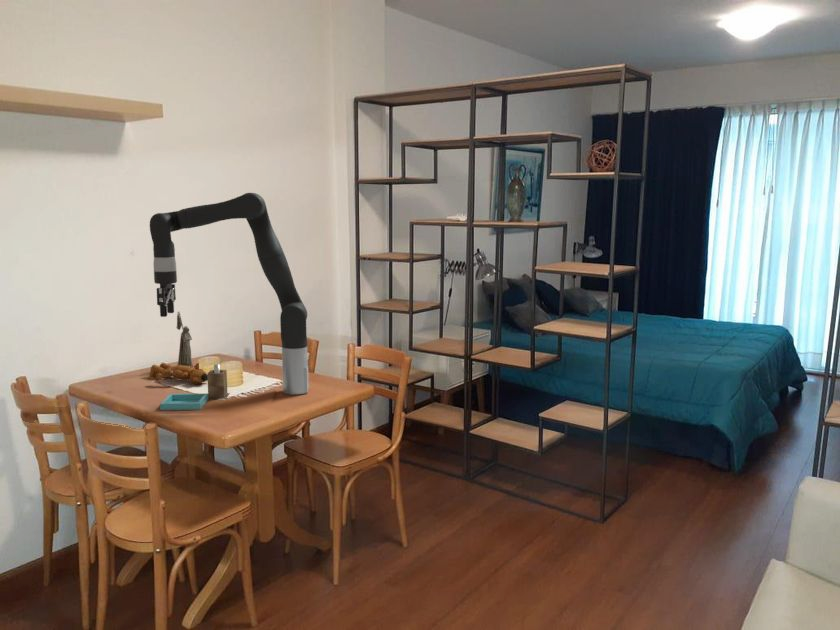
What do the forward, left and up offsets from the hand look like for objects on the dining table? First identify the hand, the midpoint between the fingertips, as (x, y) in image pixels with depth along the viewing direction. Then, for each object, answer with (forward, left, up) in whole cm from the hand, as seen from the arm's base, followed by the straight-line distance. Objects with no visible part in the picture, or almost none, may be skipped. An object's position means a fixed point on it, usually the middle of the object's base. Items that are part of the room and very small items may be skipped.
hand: (167, 314), depth 235 cm
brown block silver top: (-18, +6, -29) cm, 35 cm away
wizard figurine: (+5, -37, -30) cm, 48 cm away
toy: (+1, -18, -30) cm, 35 cm away
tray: (-9, +16, -29) cm, 35 cm away
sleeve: (-18, +6, -29) cm, 34 cm away
